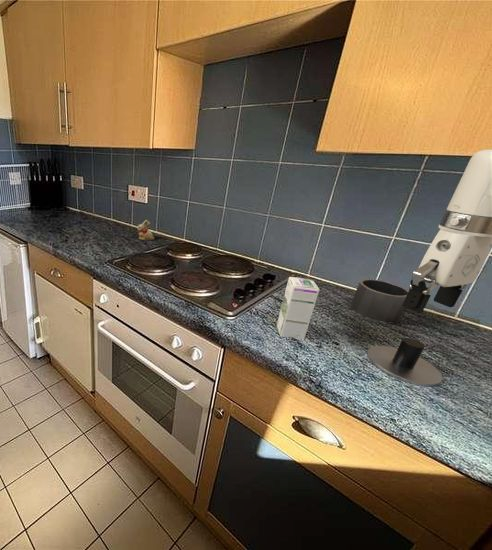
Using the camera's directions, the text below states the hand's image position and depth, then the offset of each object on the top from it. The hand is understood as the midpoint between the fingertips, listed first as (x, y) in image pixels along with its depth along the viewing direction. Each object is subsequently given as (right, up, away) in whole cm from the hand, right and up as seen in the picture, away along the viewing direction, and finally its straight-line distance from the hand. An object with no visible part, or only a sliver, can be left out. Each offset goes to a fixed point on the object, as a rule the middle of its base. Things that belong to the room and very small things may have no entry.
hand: (427, 306), depth 61 cm
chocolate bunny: (-52, +24, +89) cm, 105 cm away
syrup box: (-19, -9, +17) cm, 27 cm away
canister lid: (0, -14, +5) cm, 15 cm away
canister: (+12, -5, +28) cm, 31 cm away
